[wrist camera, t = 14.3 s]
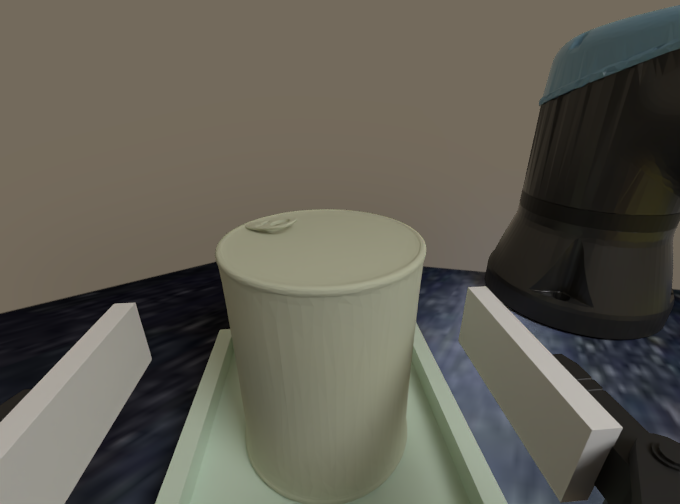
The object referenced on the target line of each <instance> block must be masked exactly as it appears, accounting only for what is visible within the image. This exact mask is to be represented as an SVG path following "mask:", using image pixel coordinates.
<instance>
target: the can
mask: <svg viewBox="0 0 680 504" xmlns="http://www.w3.org/2000/svg"><path fill="white" fill-rule="evenodd" d="M425 256H426V244H425V241H424V239H423V238H422V236H421V235H420V234H419V233H418V232H417V231H416V230H414V229H413V228H411V227H410V226H408V225H406V224H404V223H402V222H399V221H398V220H395V219H392V218H389V217H385V216H381V215H377V214H372V213H368V212H360V211H352V210H338V209H321V210H320V209H317V210H302V211H292V212H286V213H280V214H275V215H270V216H267V217H262V218H259V219H256V220H253V221H250V222H247V223H245V224H243V225H241V226H239V227H237V228H235V229H233V230H232V231H230V232H229V233H227V234H226V235H225V236H224V237H223V238H222V239H221V240H220V242H219V243H218V245H217V247H216V252H215V258H216V262H217V264H218V267H219V271H220V276H221V280H222V285H223V290H224V296H225V301H226V307H227V313H228V318H229V324H230V330H231V335H232V341H233V347H234V352H235V358H236V364H237V371H238V377H239V383H240V389H241V396H242V402H243V408H244V415H245V423H246V431H245V441H246V448H247V453H248V456H249V459H250V461H251V464H252V466H253V468H254V469H255V471H256V472H257V474H258V475H259V476H260V478H261V479H262V480H263V481H264V482H265V483H266V484H267V485H268V486H269V487H270V488H271V489H273V490H274V491H276V492H277V493H278V494H280V495H282V496H284V497H286V498H288V499H290V500H293V501H296V502H299V503H302V504H345V503H348V502H352V501H354V500H357V499H359V498H361V497H364V496H366V495H367V494H369V493H371V492H372V491H374V490H375V489H377V488H378V487H379V486H380V485H382V484H383V483H384V482H385V481H386V480H387V479H388V478H389V477H390V475H391V474H392V473H393V472H394V470H395V469H396V467H397V466H398V464H399V462H400V460H401V458H402V456H403V453H404V450H405V446H406V441H407V420H406V412H407V400H408V390H409V380H410V370H411V361H412V351H413V343H414V334H415V325H416V316H417V308H418V299H419V291H420V283H421V276H422V269H423V263H424V259H425Z"/></svg>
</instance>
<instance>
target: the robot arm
mask: <svg viewBox="0 0 680 504" xmlns="http://www.w3.org/2000/svg"><path fill="white" fill-rule="evenodd" d="M539 106H541V108H540V113H539V117H538V122H537V127H536V131H535V136H534V140H533V145H532V149H531V154H530V159H529V163H528V168H527V172H526V177H525V182H524V185H523V190H522V194H521V199H520V203H519V208H518V211H517V213H516V215H515V216H514V218H513V219H512V221H511V223H510V225H509V226H508V228H507V229H506V231H505V233H504V234H503V236H502V238H501V239H500V242H499V243H498V245H497V247H496V249H495V250H494V251H493V252H492V253H491V255H490V257H489V260H488V265H487V270H486V275H485V282H486V284H487V287H488V288H489V289H488V288H487V287H486V286H483V287H468V290H467V296H466V301H465V307H464V313H463V318H462V324H461V330H460V335H459V343H460V344H461V346H462V347H463V349H464V351H465V352H466V354H467V355H468V357H469V359H470V360H471V362H472V363H473V365H474V366H475V368H476V370H477V371H478V373H479V374H480V376H481V377H482V379H483V381H484V382H485V384H486V385H487V387H488V389H489V390H490V392H491V393H492V395H493V396H494V398H495V400H496V401H497V403H498V404H499V406H500V408H501V409H502V411H503V412H504V414H505V415H506V417H507V419H508V420H509V422H510V423H511V425H512V427H513V428H514V430H515V431H516V433H517V434H518V436H519V438H520V439H521V441H522V442H523V444H524V446H525V447H526V449H527V450H528V452H529V453H530V455H531V457H532V458H533V460H534V461H535V463H536V465H537V466H538V468H539V469H540V471H541V472H542V474H543V476H544V477H545V479H546V480H547V482H548V484H549V485H550V487H551V488H552V490H553V491H554V493H555V495H556V496H557V498H558V499H559V501H560V502H561V503H562V502H572V501H581V500H588V498H589V496H590V494H591V492H592V490H593V488H594V486H596V487H597V489H598V490H599V491H600V493H601V494H602V495H603V497H604V498H605V500H604V502H603V504H680V443H678V442H676V441H674V440H672V439H670V438H668V437H665V436H661V435H658V434H651V433H649V432H648V431H646V430H645V429H644V428H643V427H642V426H641V425H640V424H639V423H638V422H637V421H636V420H635V419H634V418H633V417H632V416H631V415H630V414H629V413H628V412H627V411H626V410H625V409H624V408H623V407H622V406H621V405H620V404H619V403H618V402H617V401H615V400H614V399H613V398H612V397H611V396H610V395H609V394H608V393H607V392H606V391H603V389H602V387H601V386H600V385H599V384H598V383H597V382H596V381H595V380H592V378H591V376H590V375H589V374H588V373H587V372H586V371H585V370H583V369H582V368H581V367H580V366H579V365H578V364H577V363H575V362H573V361H572V360H570V359H569V358H567V357H565V356H564V355H562V354H551V353H550V352H549V351H548V350H547V349H546V348H545V347H544V346H543V345H542V344H541V343H540V342H539V341H538V340H537V339H536V338H535V337H534V336H533V334H532V333H531V332H530V331H529V330H528V329H527V328H526V327H525V326H524V325H523V324H522V323H521V322H520V321H519V320H518V319H517V318H516V317H515V316H514V315H513V314H512V313H511V312H510V311H509V310H508V309H507V308H506V307H505V306H504V305H503V304H502V302H503V303H504V304H505V305H507V306H508V307H510V308H512V309H513V310H515V311H517V312H519V313H520V314H522V315H524V316H526V317H529V318H531V319H533V320H535V321H538V322H540V323H543V324H546V325H548V326H551V327H554V328H557V329H561V330H564V331H568V332H572V333H576V334H580V335H585V336H591V337H597V338H605V339H638V338H644V337H648V336H651V335H654V334H656V333H657V332H659V331H660V330H661V329H662V328H663V327H664V325H665V323H666V321H667V319H668V316H669V314H670V312H671V310H672V308H673V305H674V294H673V289H672V276H673V237H674V233H675V230H676V228H677V225H678V223H679V221H680V5H678V6H674V7H669V8H665V9H660V10H656V11H653V12H648V13H644V14H640V15H636V16H633V17H629V18H626V19H622V20H619V21H615V22H612V23H609V24H606V25H603V26H600V27H598V28H595V29H592V30H590V31H587V32H585V33H583V34H580V35H578V36H577V37H575V38H573V39H572V40H570V41H569V42H568V43H566V44H565V45H564V46H563V47H562V48H561V49H560V51H559V52H558V53H557V55H556V56H555V58H554V60H553V63H552V67H551V70H550V73H549V77H548V81H547V84H546V88H545V91H544V94H543V97H542V98H541V99H540V101H539ZM151 360H152V358H151V354H150V351H149V348H148V344H147V341H146V337H145V334H144V330H143V327H142V324H141V320H140V317H139V313H138V310H137V307H136V303H118V304H113V306H112V307H111V308H110V309H109V310H108V311H107V312H106V313H105V314H104V315H103V316H102V317H101V318H100V319H99V320H98V321H97V322H96V323H95V324H94V325H93V326H92V327H91V328H90V329H89V330H88V332H87V333H86V334H85V335H84V336H83V337H82V338H81V339H80V340H79V341H78V342H77V343H76V344H75V345H74V346H73V347H72V348H71V349H70V350H69V351H68V352H67V353H66V354H65V355H64V357H63V358H62V359H61V360H60V361H59V362H58V363H57V364H56V365H55V366H54V367H53V368H52V369H51V370H50V371H49V372H48V373H47V374H46V375H45V376H44V377H43V378H42V379H41V380H40V381H39V383H38V384H37V385H36V386H35V387H34V388H33V389H26V390H22V391H21V392H19V393H18V394H16V395H15V396H14V397H12V398H11V399H9V400H8V401H6V402H5V403H3V404H2V405H1V406H0V504H65V502H66V500H67V499H68V497H69V495H70V494H71V492H72V490H73V489H74V487H75V486H76V484H77V482H78V481H79V479H80V477H81V476H82V474H83V472H84V471H85V469H86V467H87V466H88V464H89V462H90V461H91V459H92V457H93V456H94V454H95V453H96V451H97V449H98V448H99V446H100V444H101V443H102V441H103V439H104V438H105V436H106V434H107V433H108V431H109V429H110V428H111V426H112V424H113V423H114V421H115V420H116V418H117V416H118V415H119V413H120V411H121V410H122V408H123V406H124V405H125V403H126V401H127V400H128V398H129V396H130V395H131V393H132V391H133V390H134V388H135V386H136V385H137V383H138V382H139V380H140V378H141V377H142V375H143V373H144V372H145V370H146V368H147V367H148V365H149V363H150V362H151Z"/></svg>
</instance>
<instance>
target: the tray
mask: <svg viewBox="0 0 680 504" xmlns="http://www.w3.org/2000/svg"><path fill="white" fill-rule="evenodd" d="M406 420H407V441H406V446H405V450H404V453H403V456H402V458H401V460H400V462H399V464H398V466H397V467H396V469H395V470H394V472H393V473H392V474H391V475H390V477H389V478H388V479H387V480H386V481H385V482H384V483H383V484H382V485H380V486H379V487H378V488H377V489H375V490H374V491H372V492H371V493H369V494H367V495H366V496H364V497H361V498H359V499H357V500H354V501H352V502H348V503H345V504H507V502H506V500H505V498H504V496H503V494H502V492H501V490H500V488H499V486H498V484H497V482H496V480H495V478H494V476H493V474H492V472H491V470H490V468H489V466H488V464H487V462H486V460H485V458H484V456H483V454H482V452H481V450H480V448H479V446H478V444H477V442H476V440H475V438H474V436H473V434H472V432H471V430H470V428H469V426H468V424H467V423H466V421H465V419H464V417H463V415H462V413H461V411H460V409H459V407H458V405H457V403H456V401H455V399H454V397H453V395H452V393H451V391H450V389H449V387H448V385H447V383H446V381H445V379H444V377H443V375H442V373H441V371H440V369H439V367H438V365H437V363H436V361H435V359H434V357H433V355H432V353H431V351H430V349H429V347H428V345H427V343H426V341H425V339H424V337H423V335H422V333H421V331H420V329H419V327H418V325H417V323H416V325H415V334H414V343H413V351H412V361H411V370H410V380H409V390H408V400H407V412H406ZM245 431H246V423H245V415H244V408H243V402H242V396H241V389H240V383H239V377H238V371H237V364H236V358H235V352H234V347H233V341H232V335H231V330H230V329H223V330H220V331H219V334H218V336H217V339H216V342H215V344H214V347H213V350H212V352H211V355H210V358H209V360H208V363H207V366H206V368H205V371H204V374H203V376H202V379H201V382H200V385H199V387H198V390H197V393H196V395H195V398H194V401H193V403H192V406H191V409H190V411H189V414H188V417H187V419H186V422H185V425H184V427H183V430H182V433H181V436H180V438H179V441H178V444H177V446H176V449H175V452H174V454H173V457H172V460H171V462H170V465H169V468H168V470H167V473H166V476H165V479H164V481H163V484H162V487H161V489H160V492H159V495H158V497H157V500H156V503H155V504H302V503H299V502H296V501H293V500H290V499H288V498H286V497H284V496H282V495H280V494H278V493H277V492H276V491H274V490H273V489H271V488H270V487H269V486H268V485H267V484H266V483H265V482H264V481H263V480H262V479H261V478H260V476H259V475H258V474H257V472H256V471H255V469H254V468H253V466H252V464H251V461H250V459H249V456H248V453H247V448H246V441H245Z"/></svg>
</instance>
